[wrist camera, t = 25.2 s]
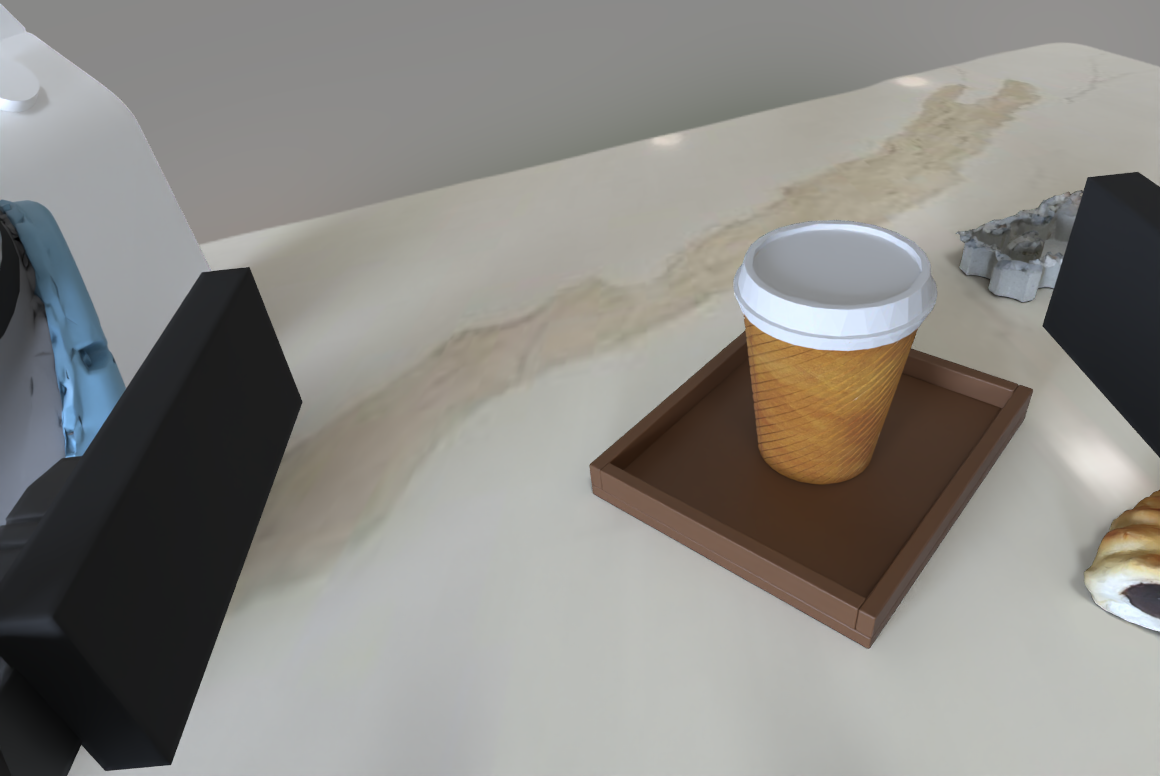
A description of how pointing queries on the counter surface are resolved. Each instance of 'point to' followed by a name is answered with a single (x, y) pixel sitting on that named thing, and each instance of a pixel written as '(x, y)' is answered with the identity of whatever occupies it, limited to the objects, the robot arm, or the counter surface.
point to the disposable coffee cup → (829, 340)
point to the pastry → (1130, 566)
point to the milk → (95, 191)
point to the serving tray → (814, 486)
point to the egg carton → (1022, 247)
